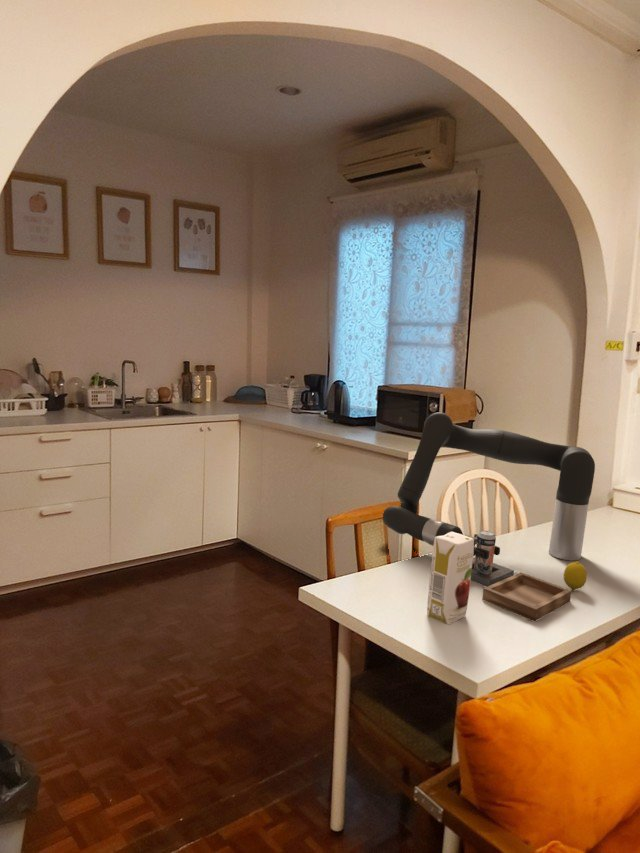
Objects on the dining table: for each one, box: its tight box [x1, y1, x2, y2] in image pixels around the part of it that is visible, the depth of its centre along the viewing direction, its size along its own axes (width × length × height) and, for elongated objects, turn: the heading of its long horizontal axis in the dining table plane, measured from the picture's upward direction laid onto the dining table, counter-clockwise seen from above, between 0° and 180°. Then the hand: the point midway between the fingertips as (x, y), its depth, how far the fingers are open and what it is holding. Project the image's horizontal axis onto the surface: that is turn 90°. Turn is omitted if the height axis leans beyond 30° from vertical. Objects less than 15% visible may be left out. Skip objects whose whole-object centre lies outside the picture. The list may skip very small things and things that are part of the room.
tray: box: [481, 572, 573, 622], centre depth 155 cm, size 18×14×3 cm
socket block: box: [470, 556, 515, 587], centre depth 170 cm, size 12×12×2 cm
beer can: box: [474, 530, 497, 575], centre depth 170 cm, size 5×5×12 cm
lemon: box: [563, 560, 588, 591], centre depth 164 cm, size 6×6×8 cm
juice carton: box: [426, 531, 474, 625], centre depth 143 cm, size 8×9×19 cm
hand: (493, 553), depth 168 cm, fingers closed on beer can, 4 cm apart
